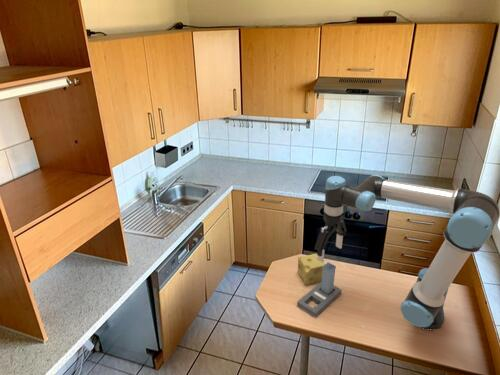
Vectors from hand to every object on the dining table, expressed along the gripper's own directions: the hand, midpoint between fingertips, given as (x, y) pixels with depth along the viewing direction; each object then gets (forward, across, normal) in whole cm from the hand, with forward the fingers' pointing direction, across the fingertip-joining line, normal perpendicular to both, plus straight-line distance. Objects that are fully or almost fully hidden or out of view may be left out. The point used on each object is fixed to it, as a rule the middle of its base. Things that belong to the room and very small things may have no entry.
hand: (329, 253), depth 165 cm
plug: (+22, 0, 0) cm, 23 cm away
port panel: (+22, +6, 0) cm, 23 cm away
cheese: (+23, -4, -12) cm, 26 cm away
